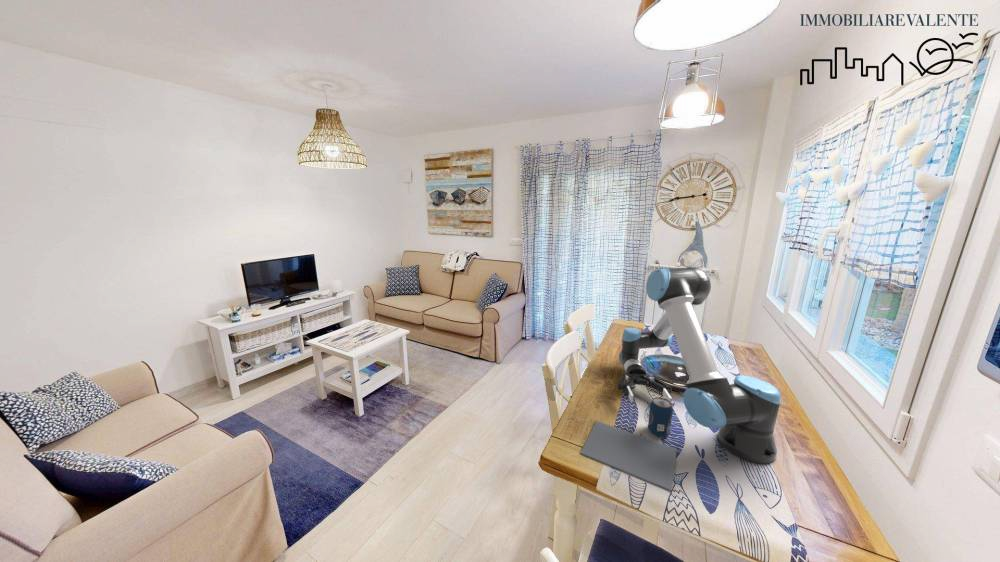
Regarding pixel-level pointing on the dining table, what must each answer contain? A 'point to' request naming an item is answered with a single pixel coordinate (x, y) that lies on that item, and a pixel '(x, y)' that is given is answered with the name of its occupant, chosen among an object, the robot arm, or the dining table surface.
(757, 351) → the dining table surface
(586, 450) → the mat
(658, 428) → the soda can
